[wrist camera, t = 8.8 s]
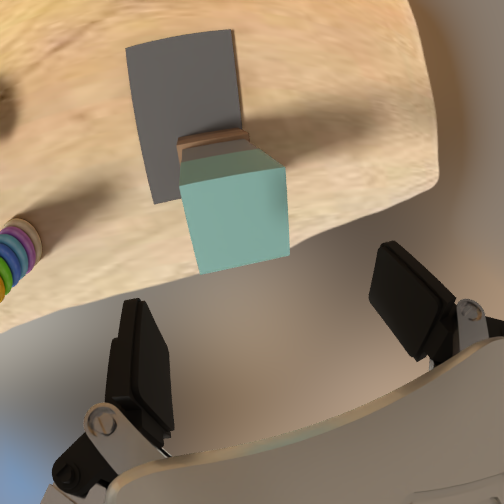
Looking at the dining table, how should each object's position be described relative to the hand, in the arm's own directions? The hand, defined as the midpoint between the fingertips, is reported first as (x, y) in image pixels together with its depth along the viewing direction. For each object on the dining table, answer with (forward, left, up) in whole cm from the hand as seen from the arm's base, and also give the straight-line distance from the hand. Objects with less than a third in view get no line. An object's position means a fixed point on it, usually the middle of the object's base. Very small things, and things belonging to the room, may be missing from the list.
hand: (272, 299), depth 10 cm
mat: (-6, -2, -26) cm, 26 cm away
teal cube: (0, 0, -13) cm, 13 cm away
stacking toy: (+4, -30, -26) cm, 40 cm away
